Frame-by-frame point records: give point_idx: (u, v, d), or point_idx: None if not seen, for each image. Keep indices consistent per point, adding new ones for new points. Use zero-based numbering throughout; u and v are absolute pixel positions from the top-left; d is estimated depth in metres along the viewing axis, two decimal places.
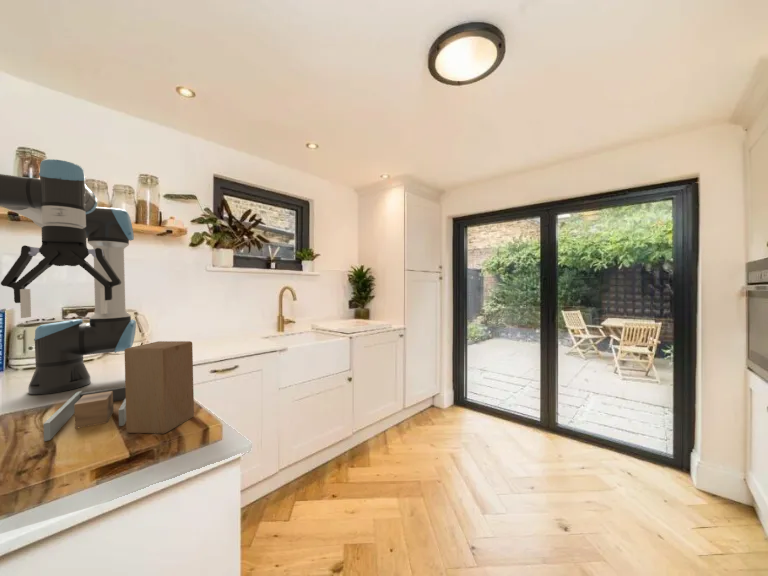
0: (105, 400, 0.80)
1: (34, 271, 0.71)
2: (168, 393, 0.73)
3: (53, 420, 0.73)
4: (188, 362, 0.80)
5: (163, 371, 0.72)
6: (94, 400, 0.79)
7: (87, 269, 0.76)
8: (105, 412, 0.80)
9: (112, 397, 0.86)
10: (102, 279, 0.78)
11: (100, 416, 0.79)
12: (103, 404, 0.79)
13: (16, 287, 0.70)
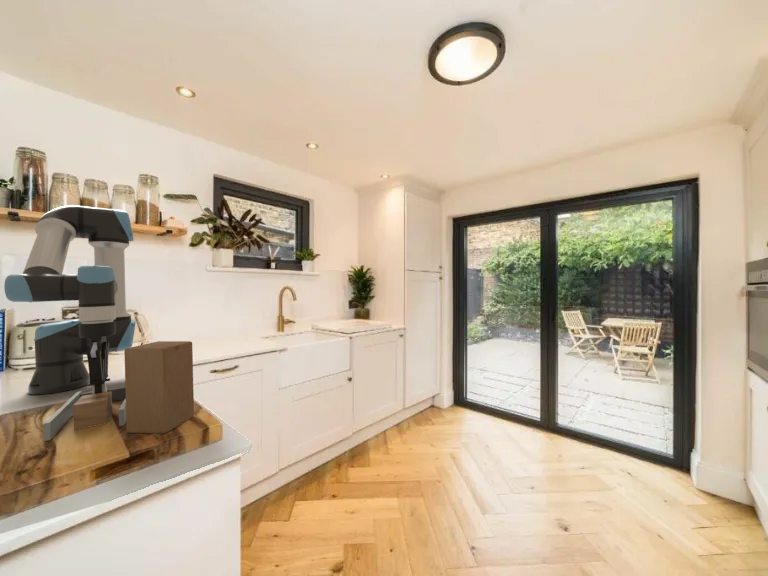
0: (104, 401, 0.79)
1: None
2: (168, 393, 0.73)
3: (53, 420, 0.73)
4: (188, 362, 0.80)
5: (163, 371, 0.72)
6: (93, 401, 0.78)
7: None
8: (104, 413, 0.79)
9: (111, 398, 0.85)
10: None
11: (99, 417, 0.78)
12: (102, 404, 0.79)
13: None
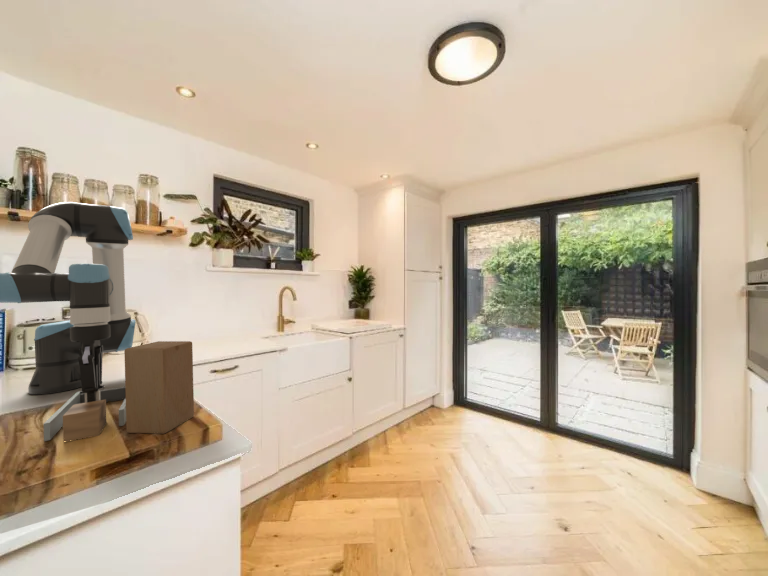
0: (97, 410, 0.73)
1: None
2: (167, 393, 0.73)
3: (53, 420, 0.73)
4: (188, 362, 0.80)
5: (163, 371, 0.72)
6: (85, 410, 0.72)
7: None
8: (97, 423, 0.72)
9: (105, 406, 0.79)
10: None
11: (91, 428, 0.72)
12: (95, 414, 0.72)
13: None
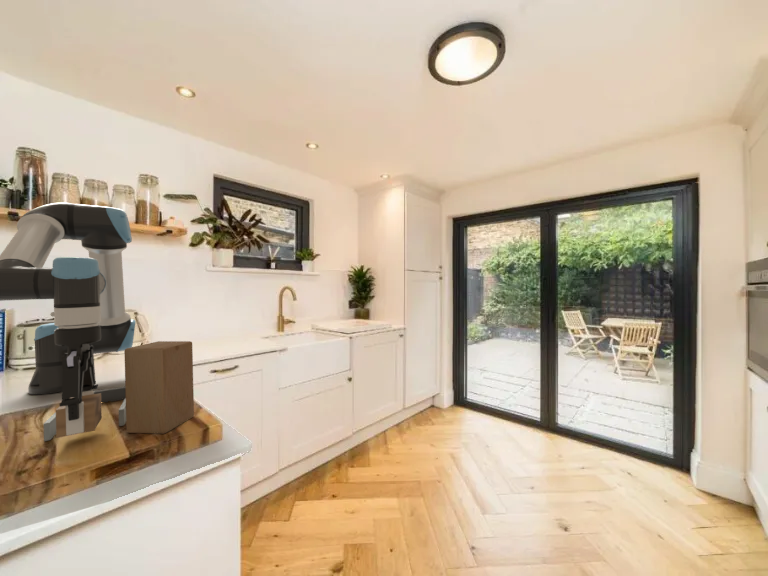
0: (92, 404, 0.69)
1: None
2: (168, 393, 0.73)
3: (53, 420, 0.73)
4: (188, 362, 0.80)
5: (163, 371, 0.72)
6: None
7: None
8: (92, 418, 0.69)
9: (100, 400, 0.75)
10: None
11: (86, 423, 0.68)
12: (90, 409, 0.69)
13: None
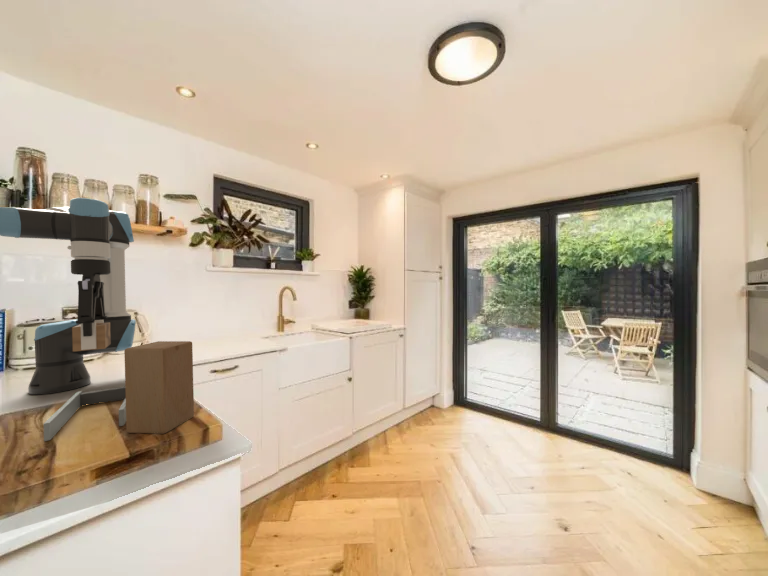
0: (103, 326, 0.80)
1: None
2: (168, 393, 0.73)
3: (53, 420, 0.73)
4: (188, 362, 0.80)
5: (163, 371, 0.72)
6: None
7: None
8: (103, 338, 0.80)
9: (109, 328, 0.86)
10: None
11: (98, 341, 0.79)
12: (101, 329, 0.79)
13: None
